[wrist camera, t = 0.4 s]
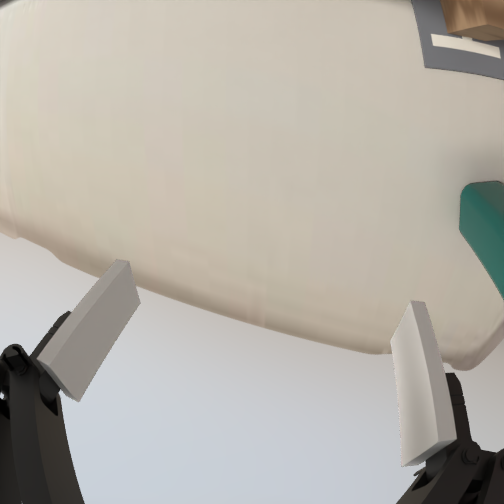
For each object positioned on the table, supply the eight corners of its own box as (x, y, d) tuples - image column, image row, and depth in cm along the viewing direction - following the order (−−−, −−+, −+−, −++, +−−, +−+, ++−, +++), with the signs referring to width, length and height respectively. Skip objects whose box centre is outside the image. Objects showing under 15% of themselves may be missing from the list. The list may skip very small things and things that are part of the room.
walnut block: (437, -8, 17) (472, -28, 9) (475, 1, 16) (515, -12, 8) (447, 33, 21) (487, 24, 12) (484, 41, 19) (528, 38, 11)
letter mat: (397, -43, 16) (398, -44, 16) (486, -22, 13) (488, -22, 12) (424, 67, 25) (425, 67, 24) (509, 81, 21) (510, 81, 20)
